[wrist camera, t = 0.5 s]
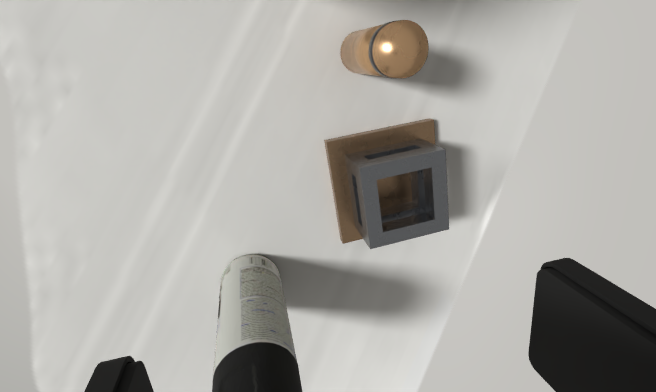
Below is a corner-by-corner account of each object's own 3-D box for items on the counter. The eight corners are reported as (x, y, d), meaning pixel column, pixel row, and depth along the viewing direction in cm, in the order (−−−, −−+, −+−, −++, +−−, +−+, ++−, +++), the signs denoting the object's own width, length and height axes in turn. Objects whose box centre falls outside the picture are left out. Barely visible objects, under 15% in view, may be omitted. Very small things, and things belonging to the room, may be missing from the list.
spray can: (209, 270, 42) (185, 431, 24) (263, 241, 43) (280, 379, 24) (240, 312, 45) (240, 486, 27) (290, 284, 45) (325, 438, 27)
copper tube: (337, 33, 37) (373, 24, 27) (377, 27, 38) (427, 15, 28) (343, 77, 39) (379, 83, 28) (381, 70, 39) (430, 73, 29)
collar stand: (324, 140, 40) (339, 154, 34) (429, 118, 42) (461, 128, 36) (340, 239, 45) (356, 267, 39) (435, 216, 46) (464, 239, 40)
